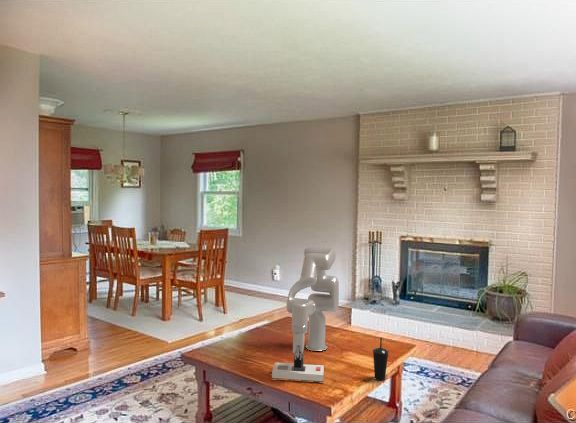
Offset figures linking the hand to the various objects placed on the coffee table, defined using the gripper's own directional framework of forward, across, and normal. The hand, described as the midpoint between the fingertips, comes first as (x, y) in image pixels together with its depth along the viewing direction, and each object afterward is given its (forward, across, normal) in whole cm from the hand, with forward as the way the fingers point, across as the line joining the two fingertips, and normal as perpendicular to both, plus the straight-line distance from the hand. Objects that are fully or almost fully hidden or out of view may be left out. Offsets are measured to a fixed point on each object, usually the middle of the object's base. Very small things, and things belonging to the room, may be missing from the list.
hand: (298, 363), depth 218 cm
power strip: (+6, 0, 0) cm, 6 cm away
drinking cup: (+6, -4, +39) cm, 40 cm away
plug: (+5, 0, 0) cm, 5 cm away
